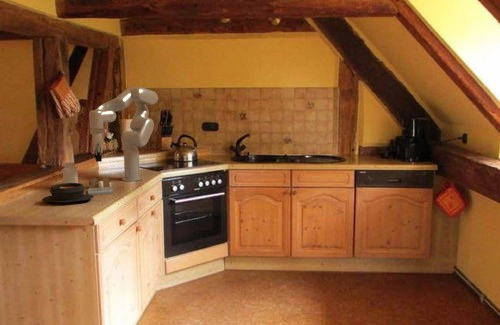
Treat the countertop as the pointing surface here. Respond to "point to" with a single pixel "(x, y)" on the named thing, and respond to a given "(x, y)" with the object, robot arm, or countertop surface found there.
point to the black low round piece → (67, 193)
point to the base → (96, 191)
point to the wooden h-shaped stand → (95, 182)
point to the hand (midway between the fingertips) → (98, 160)
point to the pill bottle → (70, 173)
